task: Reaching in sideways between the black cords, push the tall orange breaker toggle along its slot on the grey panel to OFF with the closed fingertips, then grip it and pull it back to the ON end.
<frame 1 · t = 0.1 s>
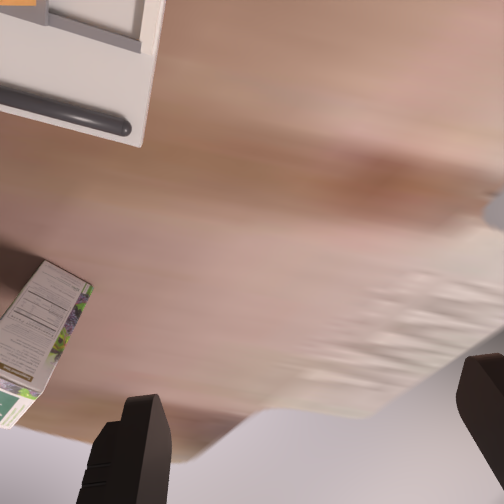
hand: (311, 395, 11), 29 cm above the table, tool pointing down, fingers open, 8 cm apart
syrup box: (57, 287, 43), on the table
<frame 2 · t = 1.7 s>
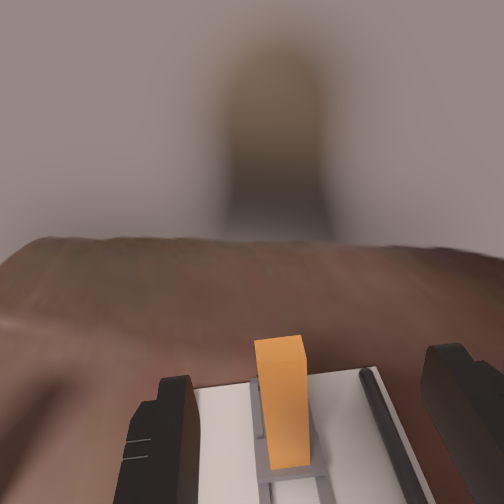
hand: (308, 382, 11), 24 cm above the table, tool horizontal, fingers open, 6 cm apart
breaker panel: (290, 476, 33), on the table
breaker toggle: (284, 410, 28), point 8 cm above the table, slide at 0.0 cm
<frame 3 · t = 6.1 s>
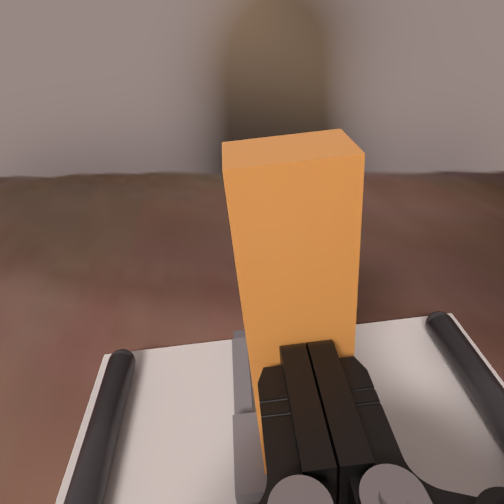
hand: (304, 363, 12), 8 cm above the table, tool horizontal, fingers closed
breaker toggle: (296, 338, 12), point 9 cm above the table, slide at -1.0 cm, touching gripper
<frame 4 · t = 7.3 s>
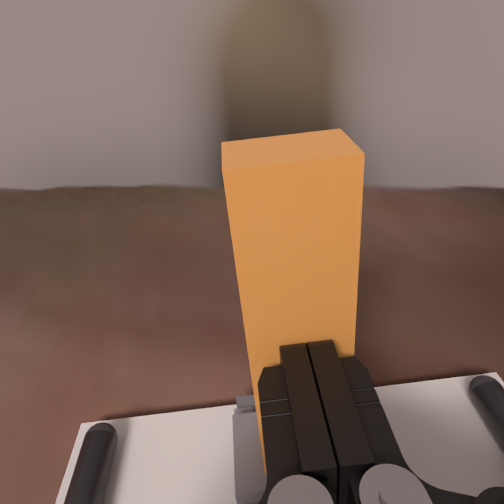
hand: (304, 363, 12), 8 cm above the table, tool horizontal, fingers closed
breaker toggle: (296, 338, 12), point 9 cm above the table, slide at -5.4 cm, touching gripper
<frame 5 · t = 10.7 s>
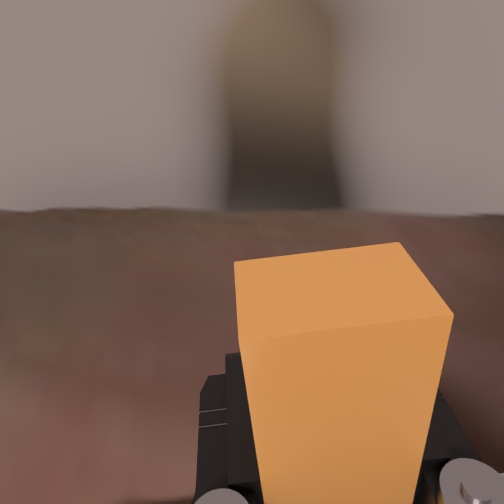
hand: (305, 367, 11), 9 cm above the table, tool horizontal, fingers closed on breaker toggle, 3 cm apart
breaker toggle: (328, 487, 10), point 9 cm above the table, slide at -5.6 cm, touching gripper
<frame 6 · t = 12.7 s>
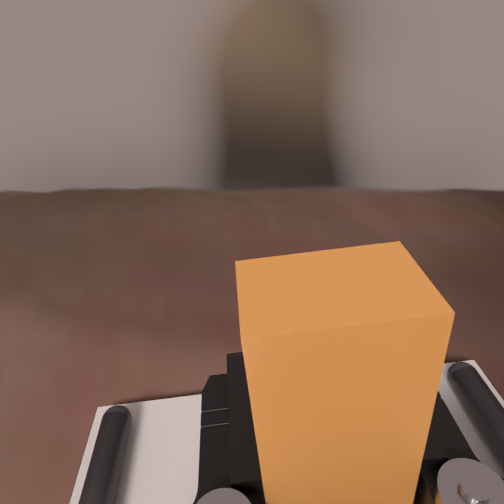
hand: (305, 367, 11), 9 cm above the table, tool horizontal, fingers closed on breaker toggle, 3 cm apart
breaker toggle: (329, 486, 10), point 8 cm above the table, slide at 0.2 cm, touching gripper
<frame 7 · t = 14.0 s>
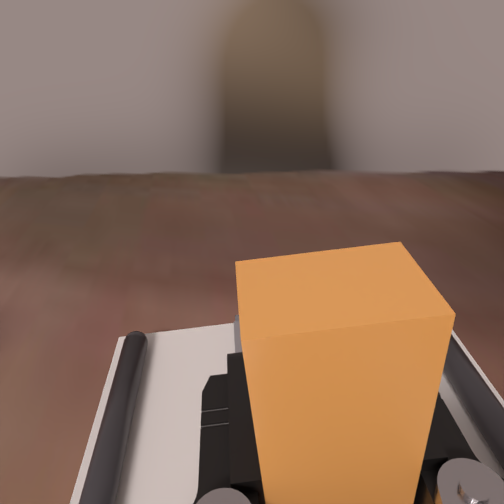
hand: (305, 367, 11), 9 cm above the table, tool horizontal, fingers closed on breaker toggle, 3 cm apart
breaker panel: (300, 466, 19), on the table
breaker toggle: (329, 486, 10), point 8 cm above the table, slide at 5.4 cm, touching gripper
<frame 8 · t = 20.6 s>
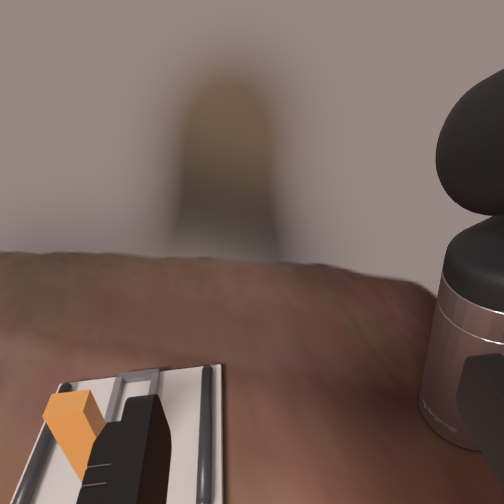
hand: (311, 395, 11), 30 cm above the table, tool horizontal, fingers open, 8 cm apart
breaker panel: (129, 447, 43), on the table
breaker toggle: (91, 448, 34), point 9 cm above the table, slide at 5.5 cm
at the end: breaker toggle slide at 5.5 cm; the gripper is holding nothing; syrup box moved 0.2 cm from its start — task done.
